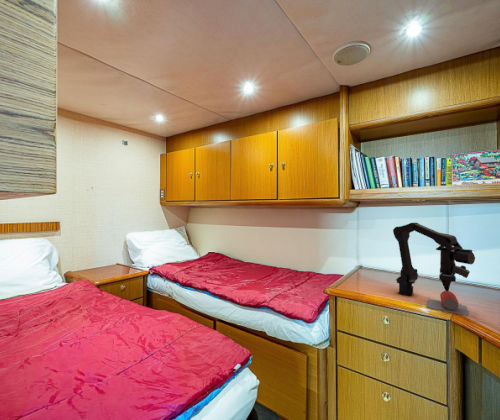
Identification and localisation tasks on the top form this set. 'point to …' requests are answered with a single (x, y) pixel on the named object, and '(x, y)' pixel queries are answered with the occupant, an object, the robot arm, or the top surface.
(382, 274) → the top surface
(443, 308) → the mat
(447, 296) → the beer can
